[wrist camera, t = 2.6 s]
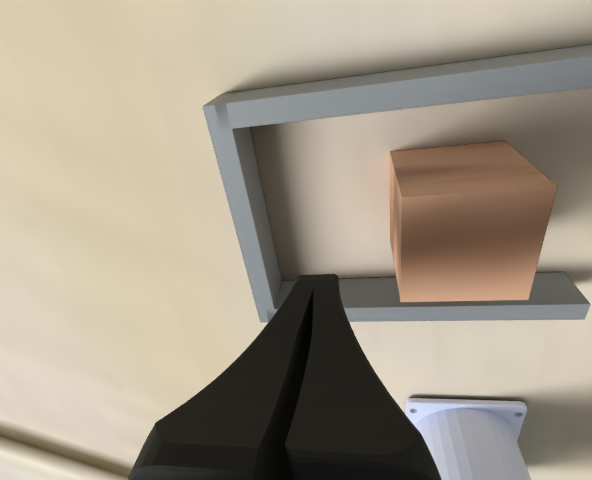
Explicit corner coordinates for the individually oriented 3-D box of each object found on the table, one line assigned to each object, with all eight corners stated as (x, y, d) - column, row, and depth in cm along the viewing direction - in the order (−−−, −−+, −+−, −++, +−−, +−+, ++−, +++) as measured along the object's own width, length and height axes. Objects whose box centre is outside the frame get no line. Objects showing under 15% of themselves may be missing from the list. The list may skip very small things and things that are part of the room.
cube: (489, 235, 19) (528, 299, 15) (390, 239, 20) (400, 302, 16) (504, 140, 16) (557, 186, 12) (389, 151, 17) (401, 197, 13)
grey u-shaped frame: (560, 286, 20) (584, 319, 18) (268, 293, 23) (260, 322, 21) (636, 38, 13) (688, 43, 11) (221, 93, 17) (202, 106, 14)
